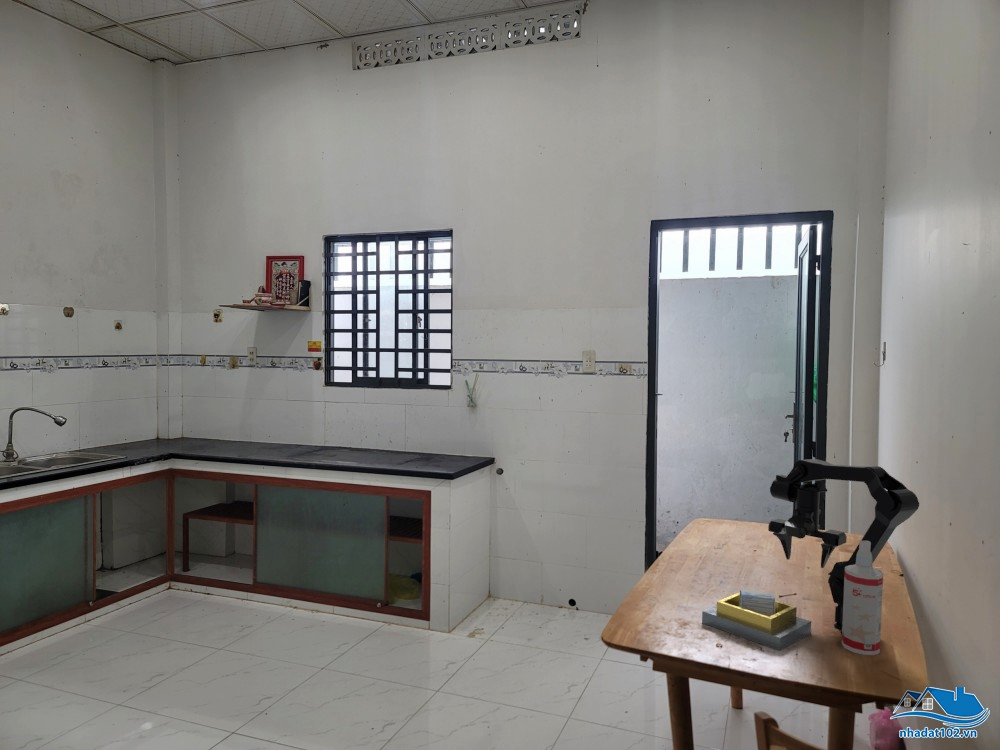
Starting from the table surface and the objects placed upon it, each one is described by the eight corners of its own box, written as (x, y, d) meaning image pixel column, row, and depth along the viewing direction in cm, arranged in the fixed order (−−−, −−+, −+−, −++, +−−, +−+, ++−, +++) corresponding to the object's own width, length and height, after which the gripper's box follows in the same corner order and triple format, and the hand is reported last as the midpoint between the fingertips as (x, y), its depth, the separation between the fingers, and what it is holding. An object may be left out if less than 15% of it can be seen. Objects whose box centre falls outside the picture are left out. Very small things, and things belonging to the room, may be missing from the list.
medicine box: (771, 627, 165) (773, 592, 165) (774, 634, 161) (775, 598, 161) (738, 622, 167) (739, 588, 167) (739, 629, 163) (741, 594, 163)
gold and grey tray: (810, 633, 162) (811, 609, 162) (779, 650, 151) (780, 624, 151) (734, 608, 177) (735, 586, 177) (701, 623, 166) (702, 599, 166)
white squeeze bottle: (867, 641, 158) (872, 537, 158) (886, 655, 151) (891, 546, 150) (835, 640, 158) (839, 536, 157) (853, 654, 151) (857, 545, 150)
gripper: (759, 503, 180) (757, 560, 181) (830, 516, 166) (828, 578, 167) (778, 498, 188) (776, 553, 188) (848, 511, 174) (846, 570, 174)
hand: (805, 563), depth 179 cm, fingers open, 9 cm apart
